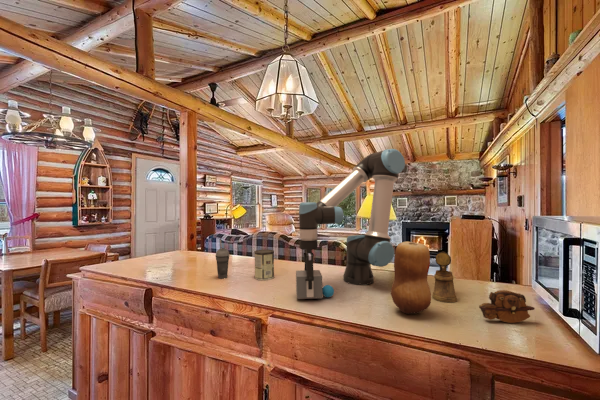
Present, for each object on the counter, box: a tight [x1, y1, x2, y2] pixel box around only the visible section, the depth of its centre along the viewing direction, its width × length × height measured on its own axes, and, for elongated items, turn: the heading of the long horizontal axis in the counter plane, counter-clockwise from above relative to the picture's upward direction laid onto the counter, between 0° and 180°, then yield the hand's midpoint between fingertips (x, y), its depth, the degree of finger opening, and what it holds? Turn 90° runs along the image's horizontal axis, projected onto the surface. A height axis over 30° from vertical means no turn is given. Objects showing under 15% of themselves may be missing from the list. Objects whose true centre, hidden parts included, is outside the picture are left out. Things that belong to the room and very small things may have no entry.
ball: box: [322, 284, 335, 298], centre depth 118 cm, size 5×5×5 cm
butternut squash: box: [390, 240, 432, 315], centre depth 102 cm, size 14×13×25 cm
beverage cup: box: [215, 239, 231, 280], centre depth 150 cm, size 7×7×20 cm
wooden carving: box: [478, 289, 536, 324], centre depth 93 cm, size 16×5×10 cm, turn 90°
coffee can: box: [253, 249, 275, 281], centre depth 150 cm, size 10×10×14 cm
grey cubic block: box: [295, 269, 324, 300], centre depth 118 cm, size 10×10×9 cm
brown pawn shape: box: [431, 251, 458, 303], centre depth 118 cm, size 9×14×18 cm, turn 155°
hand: (309, 292), depth 118 cm, fingers closed on grey cubic block, 10 cm apart
